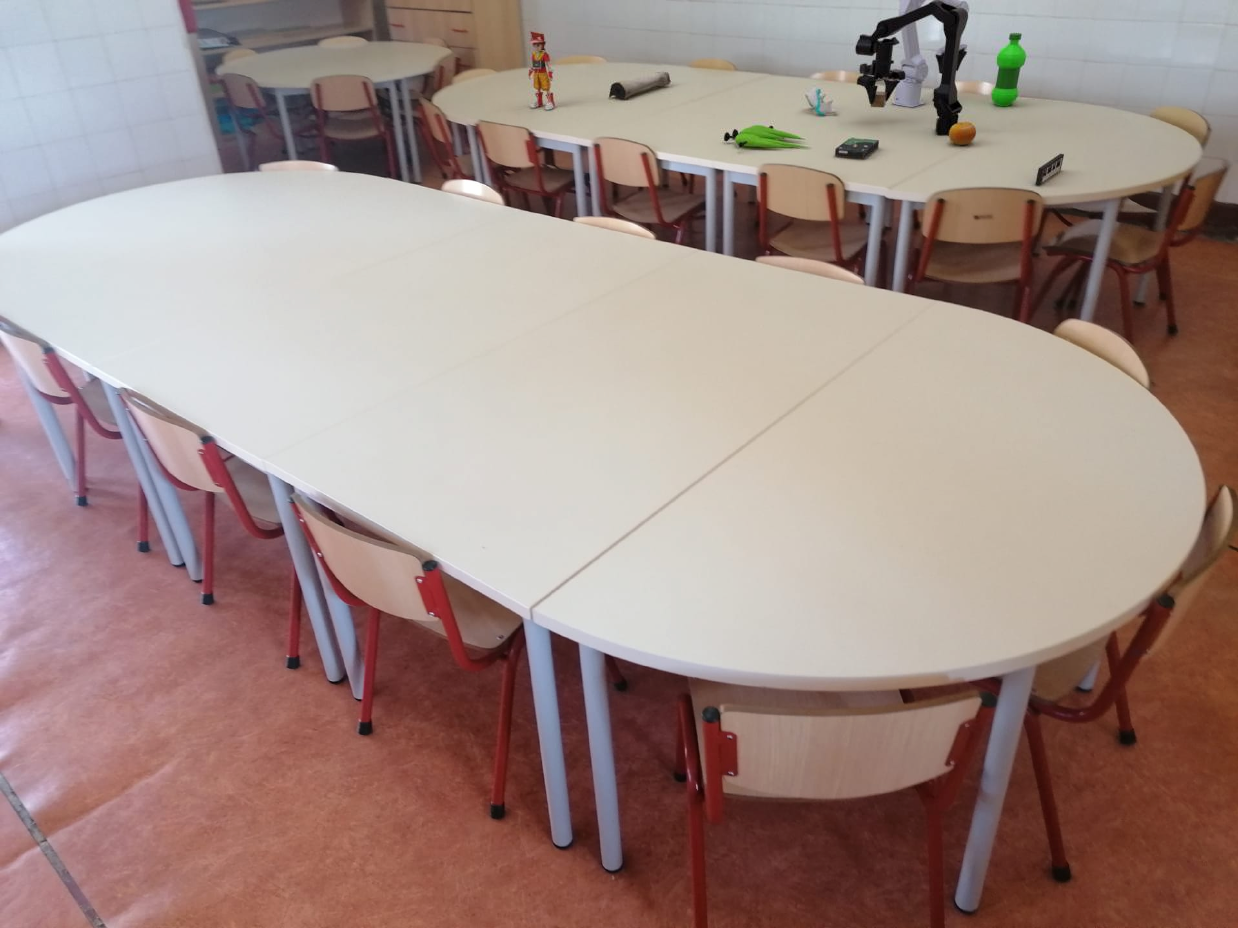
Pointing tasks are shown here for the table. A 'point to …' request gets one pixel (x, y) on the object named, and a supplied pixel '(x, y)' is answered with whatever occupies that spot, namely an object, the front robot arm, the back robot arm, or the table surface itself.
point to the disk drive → (856, 148)
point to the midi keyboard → (1049, 169)
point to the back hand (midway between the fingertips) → (948, 72)
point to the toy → (541, 71)
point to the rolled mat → (638, 84)
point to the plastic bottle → (1008, 71)
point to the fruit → (962, 133)
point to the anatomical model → (819, 102)
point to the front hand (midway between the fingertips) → (878, 102)
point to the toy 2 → (761, 137)
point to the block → (879, 99)
